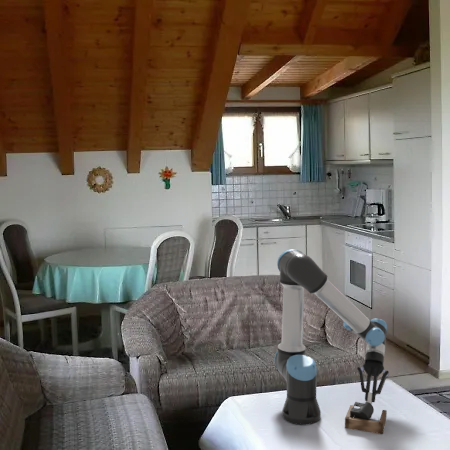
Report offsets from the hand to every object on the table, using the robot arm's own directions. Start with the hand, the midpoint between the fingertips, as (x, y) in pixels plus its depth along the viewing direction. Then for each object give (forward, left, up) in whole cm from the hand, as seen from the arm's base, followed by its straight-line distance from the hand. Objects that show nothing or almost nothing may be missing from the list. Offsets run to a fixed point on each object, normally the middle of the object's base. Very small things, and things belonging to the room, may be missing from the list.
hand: (368, 409), depth 228 cm
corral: (0, -7, -3) cm, 7 cm away
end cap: (-2, -6, -3) cm, 7 cm away
